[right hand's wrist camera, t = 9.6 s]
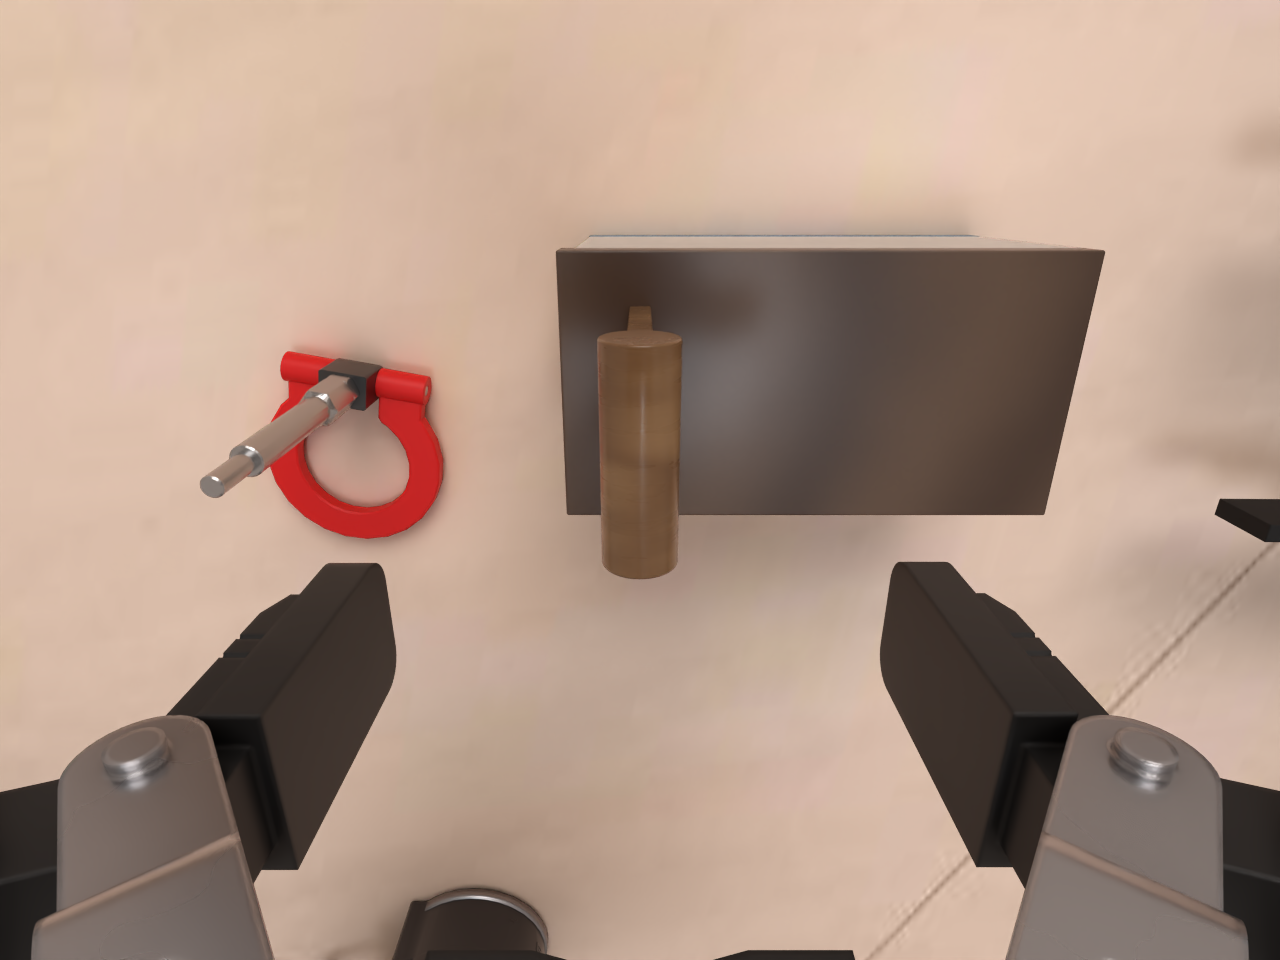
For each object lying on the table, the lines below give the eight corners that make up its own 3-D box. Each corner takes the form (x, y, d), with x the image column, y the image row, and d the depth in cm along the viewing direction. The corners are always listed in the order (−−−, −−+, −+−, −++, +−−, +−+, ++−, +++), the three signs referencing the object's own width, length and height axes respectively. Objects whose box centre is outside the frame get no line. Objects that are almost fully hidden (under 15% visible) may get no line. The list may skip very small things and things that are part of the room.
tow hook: (440, 540, 38) (452, 374, 34) (343, 713, 26) (346, 487, 22) (279, 513, 37) (274, 342, 33) (107, 677, 25) (69, 440, 22)
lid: (570, 501, 27) (539, 631, 19) (559, 248, 24) (517, 273, 16) (1027, 501, 27) (1194, 632, 19) (1083, 248, 24) (1316, 273, 15)
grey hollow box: (595, 432, 35) (581, 501, 27) (590, 235, 32) (573, 247, 24) (937, 432, 35) (1026, 501, 27) (969, 235, 32) (1082, 247, 24)
